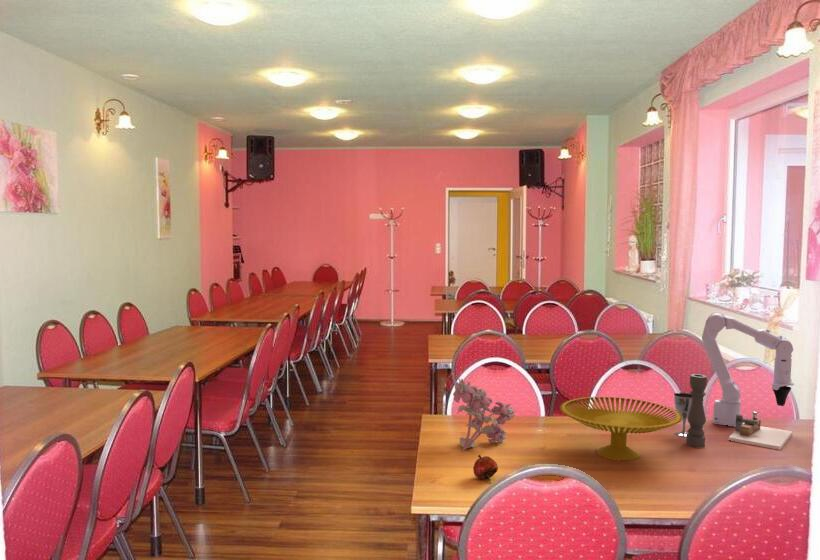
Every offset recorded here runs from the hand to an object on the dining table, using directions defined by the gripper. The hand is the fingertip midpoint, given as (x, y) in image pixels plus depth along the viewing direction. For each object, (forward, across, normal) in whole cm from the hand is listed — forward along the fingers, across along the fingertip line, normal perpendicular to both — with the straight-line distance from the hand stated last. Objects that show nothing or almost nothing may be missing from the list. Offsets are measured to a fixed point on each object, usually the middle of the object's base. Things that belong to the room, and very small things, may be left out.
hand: (780, 405), depth 272 cm
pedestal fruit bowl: (+10, -72, +26) cm, 78 cm away
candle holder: (+10, -43, +13) cm, 46 cm away
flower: (+9, -99, +64) cm, 118 cm away
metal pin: (+5, -10, +5) cm, 12 cm away
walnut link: (+8, -15, +5) cm, 18 cm away
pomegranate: (+9, -125, +41) cm, 132 cm away
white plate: (+9, -16, +1) cm, 19 cm away
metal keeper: (+8, -17, +6) cm, 20 cm away
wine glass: (+10, -34, +22) cm, 42 cm away
